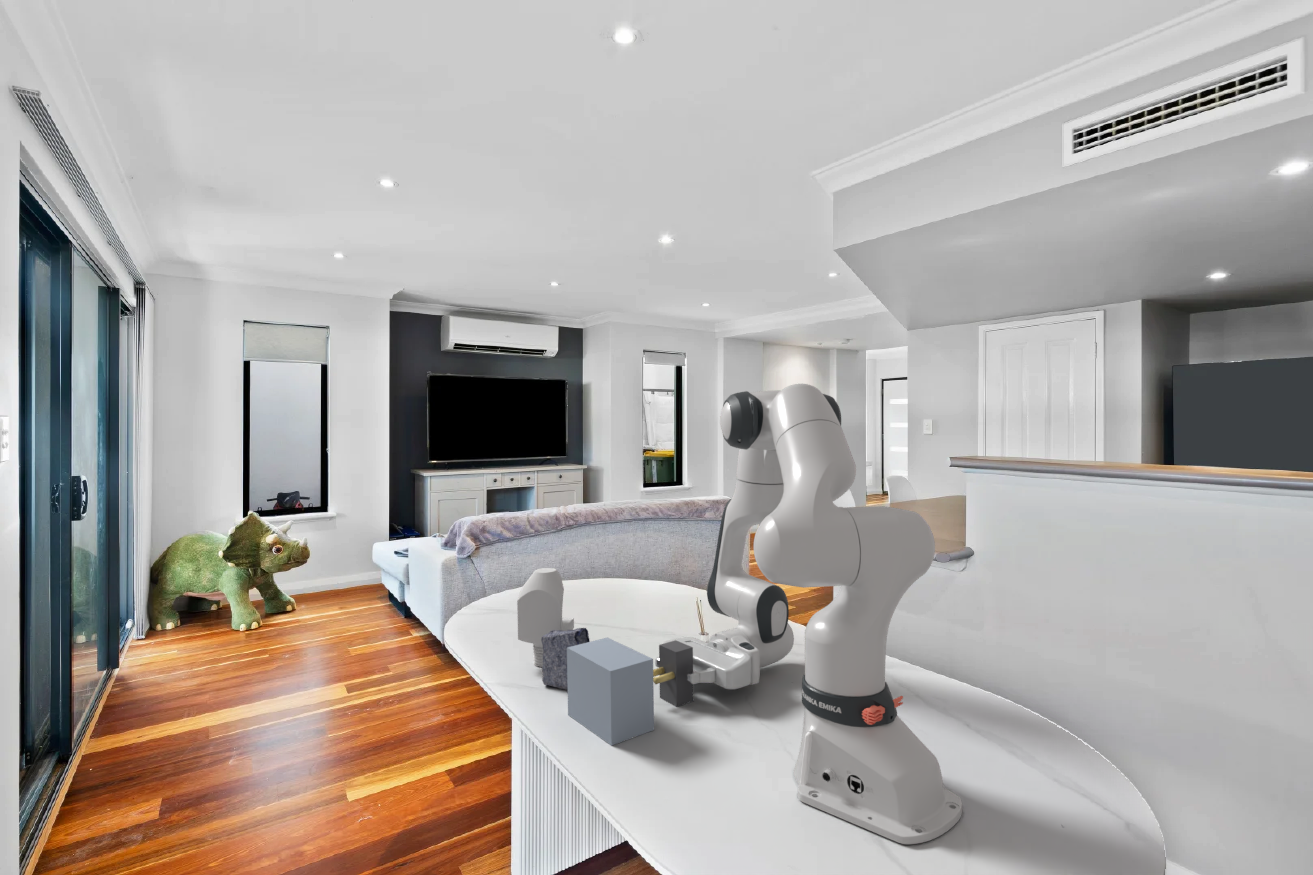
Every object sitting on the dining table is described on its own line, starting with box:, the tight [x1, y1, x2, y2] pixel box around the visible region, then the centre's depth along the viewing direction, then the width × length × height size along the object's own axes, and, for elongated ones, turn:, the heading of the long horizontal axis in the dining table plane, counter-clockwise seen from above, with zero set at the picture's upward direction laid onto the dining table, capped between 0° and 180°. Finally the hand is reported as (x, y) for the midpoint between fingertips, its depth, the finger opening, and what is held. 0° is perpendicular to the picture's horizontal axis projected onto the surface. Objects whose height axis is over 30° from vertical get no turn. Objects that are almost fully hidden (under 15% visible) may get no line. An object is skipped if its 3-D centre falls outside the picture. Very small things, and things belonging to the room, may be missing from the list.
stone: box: [541, 627, 591, 691], centre depth 130 cm, size 12×10×10 cm
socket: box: [567, 637, 655, 746], centre depth 112 cm, size 14×9×12 cm, turn 37°
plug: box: [653, 640, 694, 708], centre depth 119 cm, size 5×8×10 cm, turn 127°
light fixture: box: [516, 567, 575, 668], centre depth 140 cm, size 9×9×20 cm
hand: (673, 670), depth 120 cm, fingers open, 8 cm apart
